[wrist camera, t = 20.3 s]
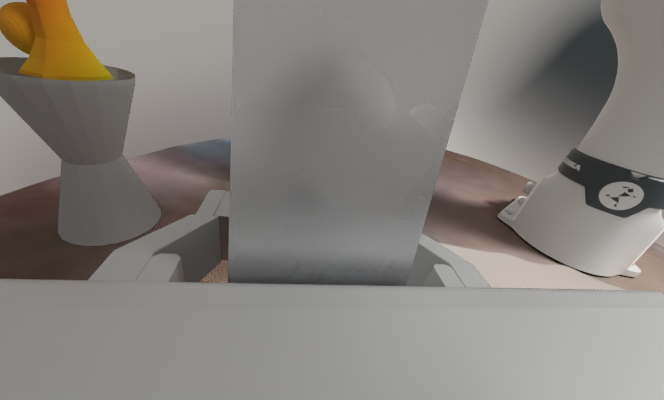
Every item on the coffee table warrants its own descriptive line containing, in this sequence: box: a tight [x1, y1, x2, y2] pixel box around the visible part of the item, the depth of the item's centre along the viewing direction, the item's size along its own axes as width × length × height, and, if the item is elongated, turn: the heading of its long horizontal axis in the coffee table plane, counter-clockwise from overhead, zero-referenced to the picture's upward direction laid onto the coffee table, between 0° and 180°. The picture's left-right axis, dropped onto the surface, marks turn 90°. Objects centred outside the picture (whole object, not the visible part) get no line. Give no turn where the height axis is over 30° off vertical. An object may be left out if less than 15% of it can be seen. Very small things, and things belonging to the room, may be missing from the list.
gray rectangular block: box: [228, 0, 488, 286], centre depth 9 cm, size 22×4×4 cm
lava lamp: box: [0, 0, 161, 246], centre depth 19 cm, size 9×9×35 cm
